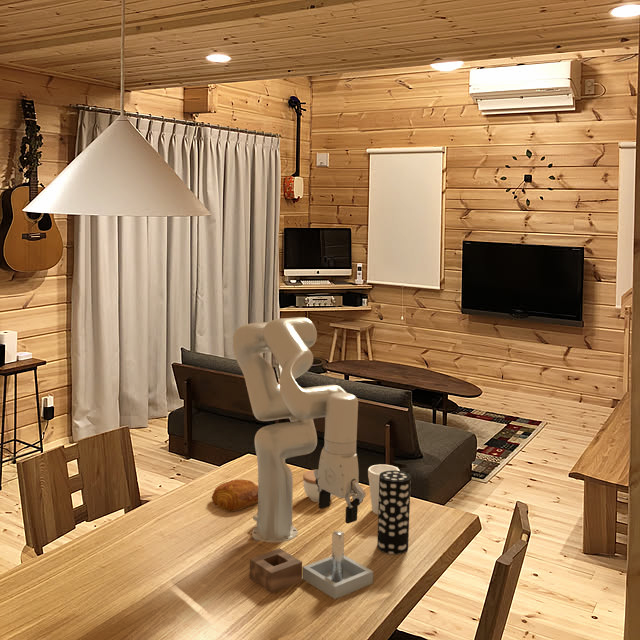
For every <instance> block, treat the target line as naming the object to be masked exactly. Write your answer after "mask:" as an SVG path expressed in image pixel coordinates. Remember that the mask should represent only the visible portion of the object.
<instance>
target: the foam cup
mask: <svg viewBox="0 0 640 640" xmlns="http://www.w3.org/2000/svg"><path fill="white" fill-rule="evenodd" d="M384 471H401V470H400V469H399V467H398V466H394V465H391V464H374V465H370V466H369V467H368V469H367V477H368V483H369V485H368V486H369V492H370V503H371V510H372V513H374V514H375V515H378V506H379V475H380V473H382V472H384Z"/></svg>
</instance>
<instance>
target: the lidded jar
mask: <svg viewBox="0 0 640 640" xmlns="http://www.w3.org/2000/svg"><path fill="white" fill-rule="evenodd" d="M315 470H316V469H311V470H307V471H305V472H304V473H303V475H302V478H303V481H302V483H303V489H304V492H305V494H306V496H307V497H308V498H309V499H310V500H311V502H314V503H319V493H320V492H318V490H317V489H318V486H317V484H316V481H315V480H316V479H315V475H314V471H315ZM333 496H334V495H333V494H331V496H330V499H331V498H332V497H333Z"/></svg>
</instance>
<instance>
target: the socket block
mask: <svg viewBox="0 0 640 640" xmlns="http://www.w3.org/2000/svg"><path fill="white" fill-rule="evenodd" d="M249 579H250V580H251V581H253V583H255V584H257V585H258V586H260V587H261V588H263V589H264V590H265V591H267V592H268V593H270V594H271V595H272V594H275V593H277V592H279V591H282V590H284V589H287V588H290V587H292V586H295V585H297V584H300V583H302V582H303V561H301V560H300V559H298V558H297V557H295V556H294V555H291V554H290V553H288V552H287V551H285V550H284V549H282V548H280V547H279V548H277V549H273V550H271V551H268V552H264V553H262V554H259V555H256V556H253V557H251V558H249Z"/></svg>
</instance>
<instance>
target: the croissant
mask: <svg viewBox="0 0 640 640" xmlns="http://www.w3.org/2000/svg"><path fill="white" fill-rule="evenodd" d="M211 500H212V504H213V503H214V504H213V505H214V506H215V505H217V506H216V507H217V508H219V509H221V510H223V511H226V512H231V511H233V512H236V510H237V511H240V510H243V509H246V508H248V507H250V506H253V505H255V504H256V503H258V484H256V483H254V482H253V481H251V480H248V479H232V480H229V481H227V482H223V483H220V484H219V485H218V486H217V487H215V489H214V491H213V493H212V497H211Z"/></svg>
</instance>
